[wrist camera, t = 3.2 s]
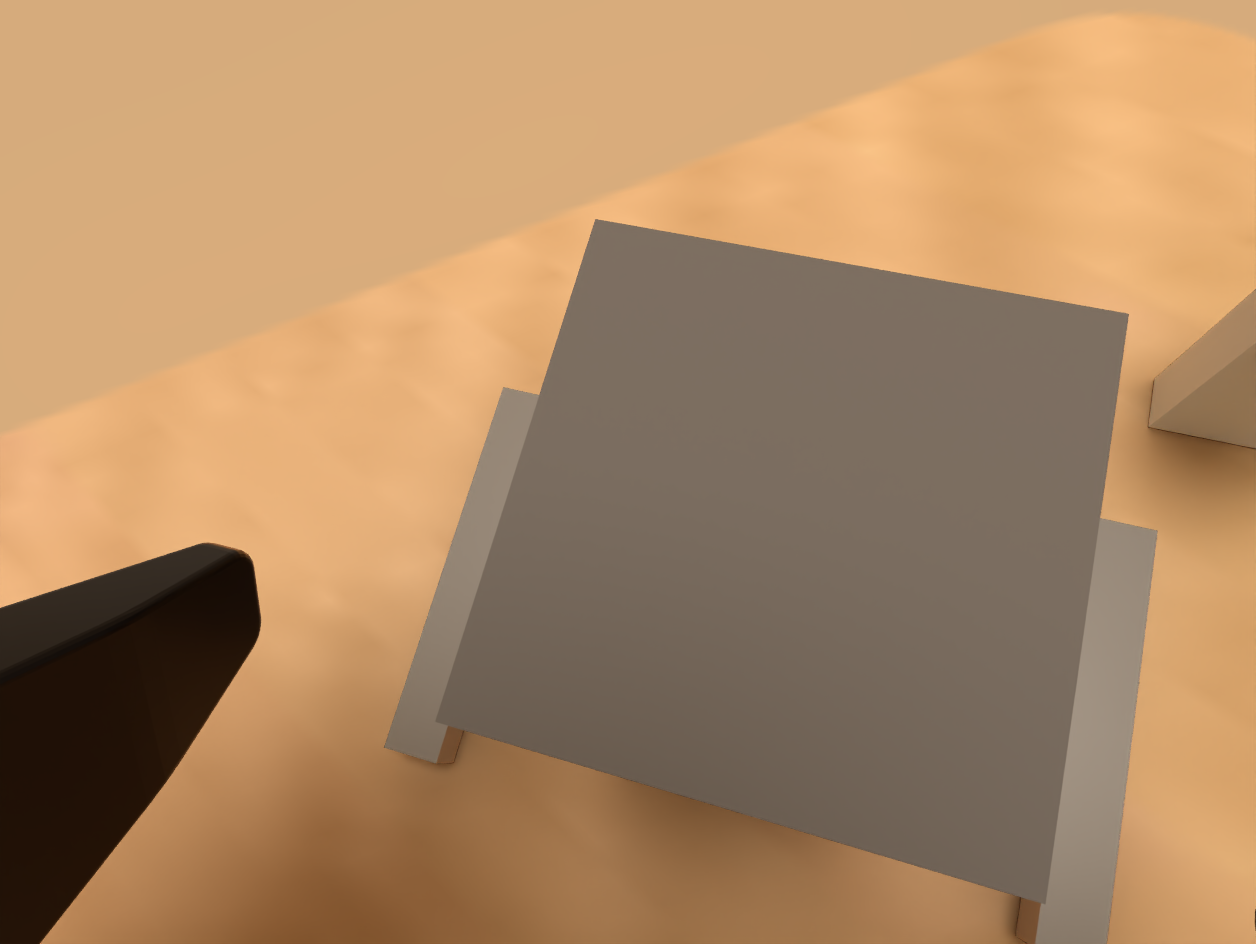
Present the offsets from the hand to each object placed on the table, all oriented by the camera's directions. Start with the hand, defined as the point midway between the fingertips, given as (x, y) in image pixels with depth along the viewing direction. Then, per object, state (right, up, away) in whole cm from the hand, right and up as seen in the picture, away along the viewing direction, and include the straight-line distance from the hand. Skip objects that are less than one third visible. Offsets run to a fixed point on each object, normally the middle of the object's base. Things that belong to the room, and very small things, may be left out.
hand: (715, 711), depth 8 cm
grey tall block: (+2, -1, +9) cm, 9 cm away
